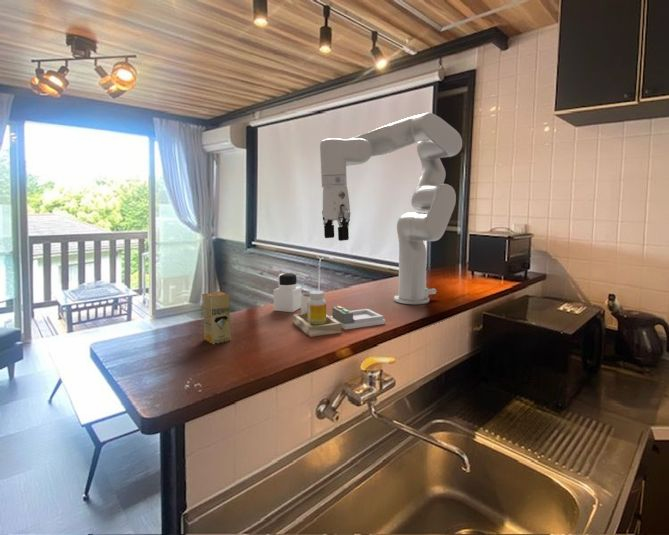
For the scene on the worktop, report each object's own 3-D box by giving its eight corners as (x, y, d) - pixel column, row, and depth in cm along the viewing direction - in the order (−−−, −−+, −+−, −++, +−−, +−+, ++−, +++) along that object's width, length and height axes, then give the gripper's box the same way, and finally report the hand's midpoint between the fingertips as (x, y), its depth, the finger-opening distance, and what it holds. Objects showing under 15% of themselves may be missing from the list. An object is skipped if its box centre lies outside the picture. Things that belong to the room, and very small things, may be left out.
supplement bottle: (303, 325, 114) (303, 291, 112) (318, 321, 117) (318, 289, 115) (314, 329, 109) (314, 295, 108) (330, 325, 113) (330, 292, 111)
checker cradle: (367, 314, 126) (367, 300, 125) (385, 323, 117) (385, 308, 116) (329, 319, 121) (329, 305, 120) (345, 329, 111) (345, 313, 111)
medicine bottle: (302, 307, 136) (301, 272, 134) (293, 312, 129) (292, 276, 127) (283, 305, 138) (282, 271, 136) (273, 310, 132) (272, 274, 130)
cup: (318, 312, 129) (318, 291, 128) (326, 318, 123) (326, 295, 122) (297, 315, 126) (297, 293, 125) (305, 320, 120) (305, 297, 119)
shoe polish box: (231, 340, 103) (229, 294, 101) (212, 344, 100) (210, 297, 98) (222, 335, 107) (220, 291, 105) (204, 339, 103) (202, 294, 102)
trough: (293, 322, 118) (293, 314, 117) (321, 319, 122) (321, 311, 121) (310, 336, 105) (310, 327, 105) (341, 332, 109) (341, 323, 109)
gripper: (359, 180, 114) (360, 240, 117) (332, 183, 129) (334, 236, 132) (335, 180, 110) (337, 242, 113) (311, 183, 126) (314, 237, 129)
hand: (336, 239), depth 123 cm, fingers open, 9 cm apart
